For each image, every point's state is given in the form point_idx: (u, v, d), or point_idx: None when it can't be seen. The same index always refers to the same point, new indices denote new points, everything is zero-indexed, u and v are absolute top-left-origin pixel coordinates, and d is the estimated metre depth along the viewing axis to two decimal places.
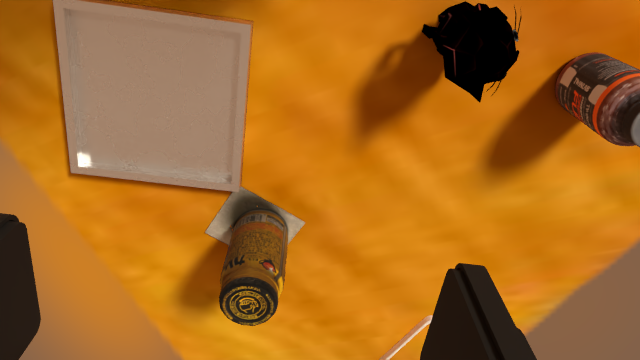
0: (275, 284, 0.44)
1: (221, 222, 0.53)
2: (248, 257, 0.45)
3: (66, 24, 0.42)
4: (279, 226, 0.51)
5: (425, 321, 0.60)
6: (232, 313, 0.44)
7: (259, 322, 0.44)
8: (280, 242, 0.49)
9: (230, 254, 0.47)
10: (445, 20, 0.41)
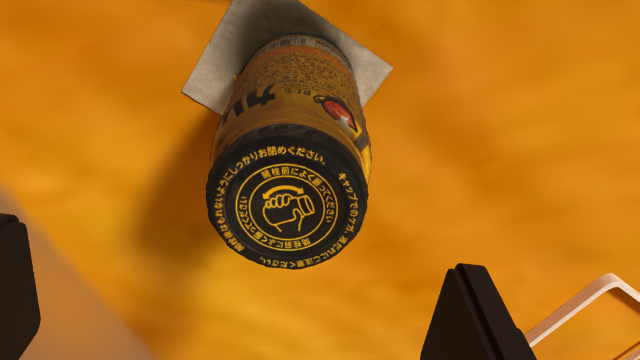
0: (359, 156, 0.16)
1: (215, 67, 0.25)
2: (285, 86, 0.17)
3: None
4: (343, 62, 0.23)
5: (602, 284, 0.32)
6: (242, 233, 0.16)
7: (315, 259, 0.16)
8: (352, 85, 0.21)
9: (236, 95, 0.18)
10: None
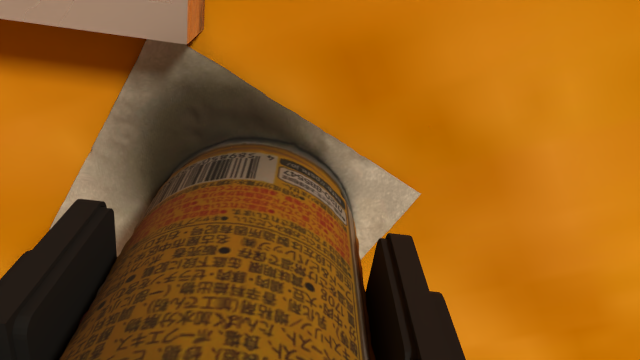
0: None
1: (105, 192, 0.14)
2: None
3: None
4: (330, 205, 0.12)
5: None
6: None
7: None
8: (348, 276, 0.10)
9: None
10: None
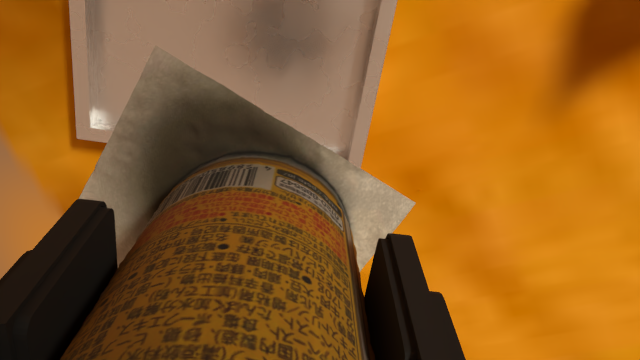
0: None
1: None
2: None
3: None
4: (327, 211, 0.12)
5: None
6: None
7: None
8: (345, 275, 0.10)
9: (64, 357, 0.08)
10: None
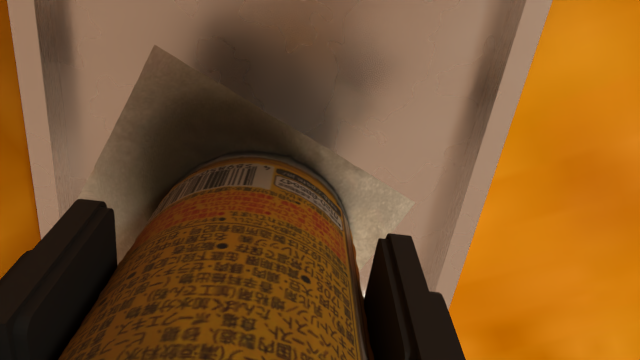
0: None
1: None
2: None
3: None
4: (326, 211, 0.12)
5: None
6: None
7: None
8: (344, 275, 0.10)
9: (62, 356, 0.08)
10: None
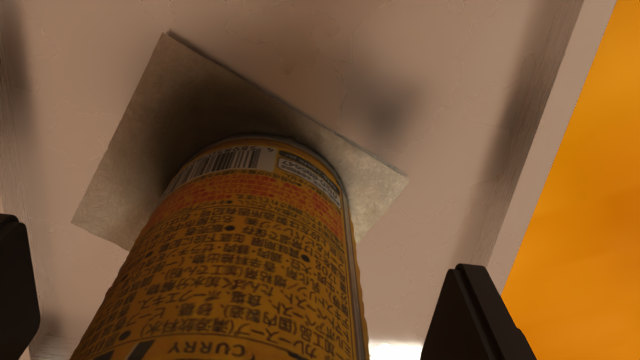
0: None
1: (120, 186, 0.15)
2: (172, 359, 0.07)
3: None
4: (326, 191, 0.13)
5: None
6: None
7: None
8: (341, 252, 0.11)
9: (92, 326, 0.09)
10: None
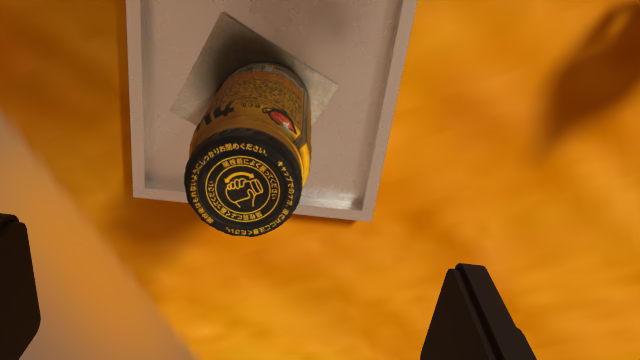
0: (296, 150, 0.22)
1: (196, 90, 0.31)
2: (241, 102, 0.23)
3: None
4: (295, 83, 0.29)
5: None
6: (211, 209, 0.22)
7: (266, 228, 0.22)
8: (300, 100, 0.27)
9: (207, 110, 0.25)
10: None
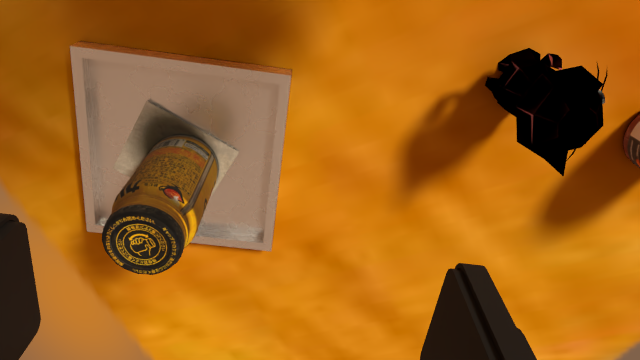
0: (180, 217, 0.33)
1: (131, 154, 0.42)
2: (145, 182, 0.33)
3: (84, 75, 0.38)
4: (201, 154, 0.39)
5: None
6: (121, 257, 0.32)
7: (160, 269, 0.33)
8: (199, 170, 0.38)
9: (126, 183, 0.35)
10: (510, 72, 0.36)
